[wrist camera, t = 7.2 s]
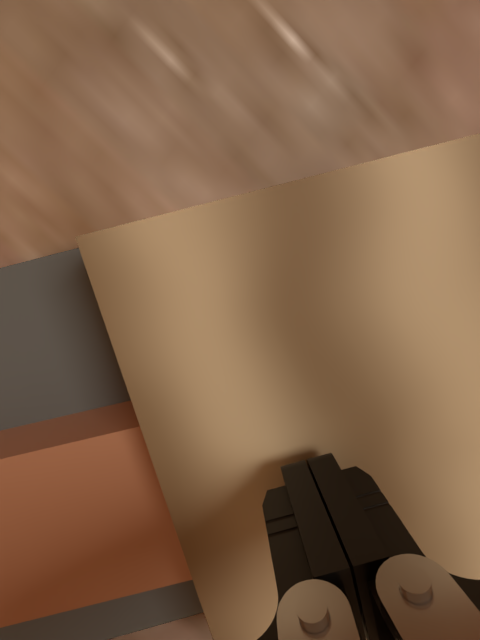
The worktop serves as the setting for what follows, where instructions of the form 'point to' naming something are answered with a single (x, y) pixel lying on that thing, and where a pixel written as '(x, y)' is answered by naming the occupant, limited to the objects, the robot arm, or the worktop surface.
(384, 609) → the robot arm
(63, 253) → the mat
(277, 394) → the tan wooden flat block
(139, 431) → the tile
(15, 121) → the worktop surface
